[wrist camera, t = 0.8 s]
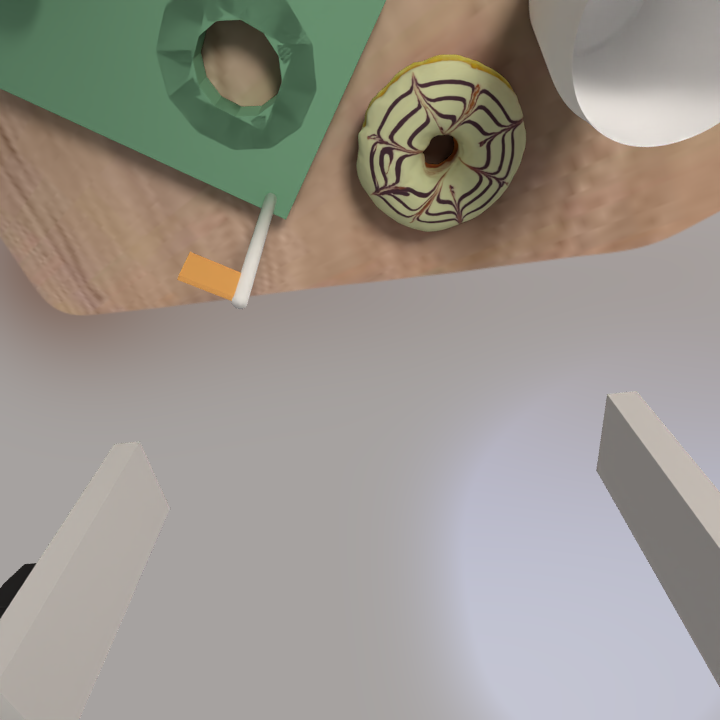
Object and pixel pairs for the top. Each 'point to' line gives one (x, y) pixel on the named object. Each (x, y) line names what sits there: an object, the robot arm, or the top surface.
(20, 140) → the top surface
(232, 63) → the top surface
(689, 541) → the robot arm
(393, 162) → the decorated donut
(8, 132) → the top surface
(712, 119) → the cup
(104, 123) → the green
